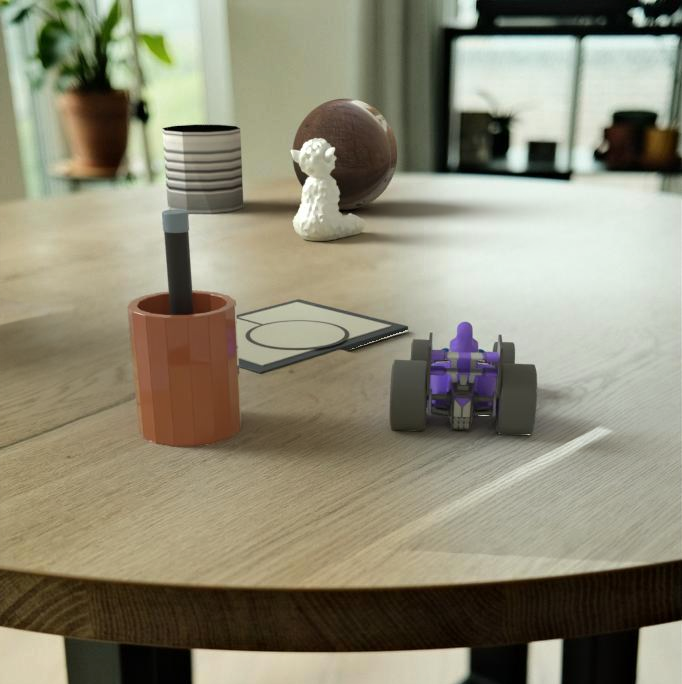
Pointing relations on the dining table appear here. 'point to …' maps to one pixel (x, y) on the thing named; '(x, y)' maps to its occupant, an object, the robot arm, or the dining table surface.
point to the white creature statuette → (321, 196)
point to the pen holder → (186, 369)
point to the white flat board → (302, 333)
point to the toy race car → (463, 385)
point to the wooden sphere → (352, 149)
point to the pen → (178, 261)
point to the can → (203, 168)
